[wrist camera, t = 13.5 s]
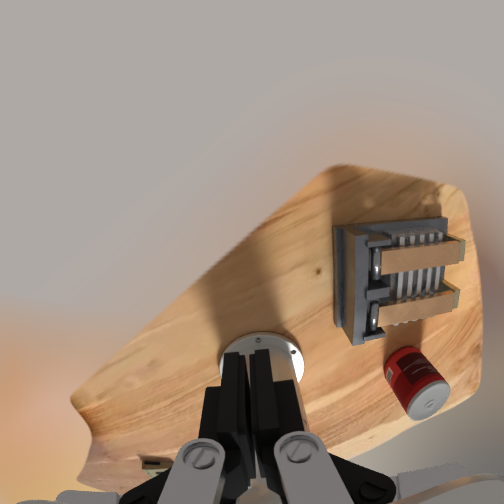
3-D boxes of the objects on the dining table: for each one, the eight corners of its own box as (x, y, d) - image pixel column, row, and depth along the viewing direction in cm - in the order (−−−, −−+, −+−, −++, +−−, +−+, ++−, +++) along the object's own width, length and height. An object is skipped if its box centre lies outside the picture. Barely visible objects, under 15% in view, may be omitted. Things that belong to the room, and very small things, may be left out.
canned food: (395, 387, 44) (419, 426, 34) (374, 368, 43) (400, 411, 32) (426, 359, 43) (456, 394, 33) (408, 336, 42) (441, 374, 31)
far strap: (447, 311, 34) (451, 314, 33) (366, 327, 35) (369, 332, 33) (451, 286, 33) (455, 289, 32) (368, 301, 34) (371, 305, 32)
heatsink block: (435, 302, 40) (459, 321, 33) (334, 322, 40) (348, 348, 33) (441, 216, 37) (471, 225, 30) (332, 225, 37) (350, 237, 30)
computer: (199, 491, 53) (197, 500, 50) (170, 490, 54) (168, 499, 50) (174, 460, 49) (172, 471, 46) (142, 459, 50) (139, 469, 46)
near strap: (453, 264, 32) (458, 267, 31) (369, 276, 33) (372, 280, 32) (455, 236, 31) (461, 238, 30) (369, 245, 32) (373, 248, 31)
